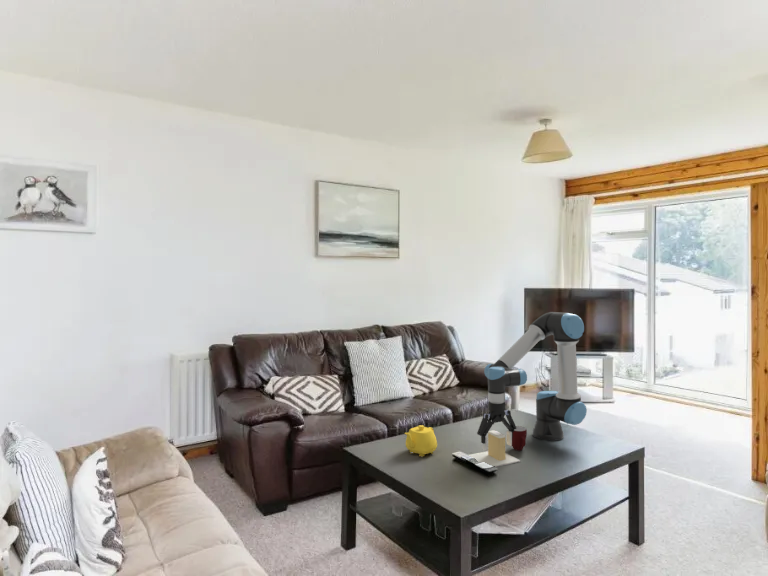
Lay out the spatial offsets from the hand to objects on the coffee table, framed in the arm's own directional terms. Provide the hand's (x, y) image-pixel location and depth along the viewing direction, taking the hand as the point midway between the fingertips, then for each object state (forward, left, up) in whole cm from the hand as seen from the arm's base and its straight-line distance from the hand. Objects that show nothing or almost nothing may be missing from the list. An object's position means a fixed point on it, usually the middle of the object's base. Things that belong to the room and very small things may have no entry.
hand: (497, 447), depth 227 cm
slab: (0, 0, -4) cm, 4 cm away
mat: (+4, 0, -5) cm, 6 cm away
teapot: (+29, -21, -5) cm, 36 cm away
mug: (-16, -4, -5) cm, 17 cm away
